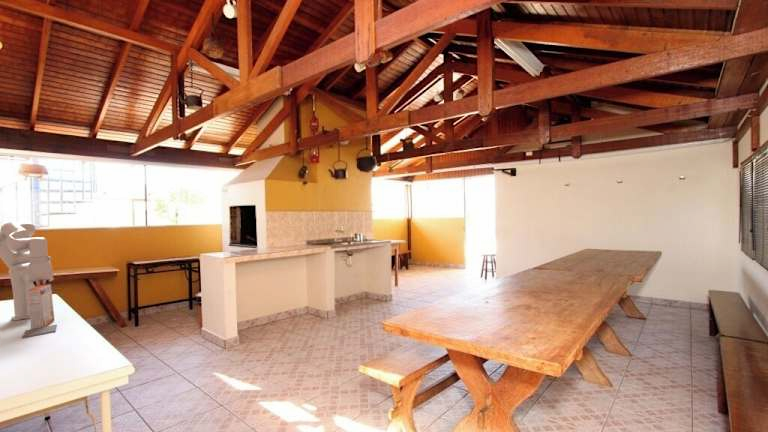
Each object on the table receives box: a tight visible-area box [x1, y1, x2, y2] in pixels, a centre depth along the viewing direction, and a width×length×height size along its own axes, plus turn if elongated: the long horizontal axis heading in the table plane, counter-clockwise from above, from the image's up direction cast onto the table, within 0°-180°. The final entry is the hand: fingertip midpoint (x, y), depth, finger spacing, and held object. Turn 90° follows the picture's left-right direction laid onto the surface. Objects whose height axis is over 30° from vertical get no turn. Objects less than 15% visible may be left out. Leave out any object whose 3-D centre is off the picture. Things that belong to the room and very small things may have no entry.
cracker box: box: [27, 283, 55, 329], centre depth 199 cm, size 14×6×21 cm, turn 25°
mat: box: [21, 324, 58, 339], centre depth 187 cm, size 14×12×1 cm
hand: (42, 292), depth 206 cm, fingers closed
